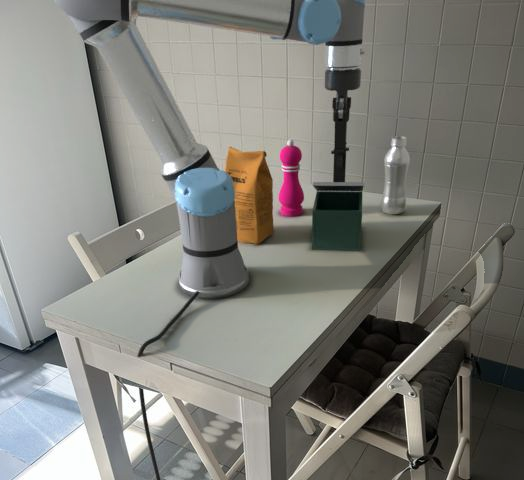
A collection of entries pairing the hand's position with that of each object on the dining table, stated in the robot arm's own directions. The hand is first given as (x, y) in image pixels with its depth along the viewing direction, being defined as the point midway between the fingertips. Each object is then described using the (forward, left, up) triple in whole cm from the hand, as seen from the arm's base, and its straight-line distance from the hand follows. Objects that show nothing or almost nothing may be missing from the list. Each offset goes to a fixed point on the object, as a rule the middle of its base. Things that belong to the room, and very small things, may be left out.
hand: (339, 181), depth 124 cm
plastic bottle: (+26, -1, -16) cm, 31 cm away
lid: (+3, +2, -3) cm, 4 cm away
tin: (+2, +2, -15) cm, 16 cm away
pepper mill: (+11, +23, -16) cm, 30 cm away
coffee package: (-9, +22, -16) cm, 28 cm away
